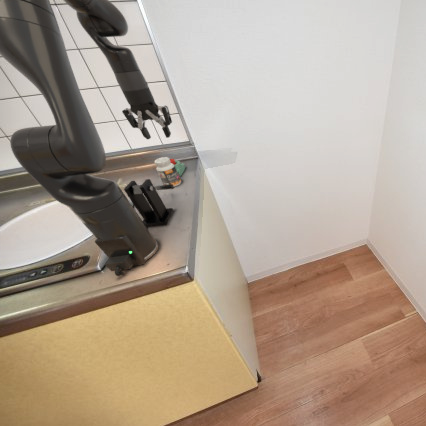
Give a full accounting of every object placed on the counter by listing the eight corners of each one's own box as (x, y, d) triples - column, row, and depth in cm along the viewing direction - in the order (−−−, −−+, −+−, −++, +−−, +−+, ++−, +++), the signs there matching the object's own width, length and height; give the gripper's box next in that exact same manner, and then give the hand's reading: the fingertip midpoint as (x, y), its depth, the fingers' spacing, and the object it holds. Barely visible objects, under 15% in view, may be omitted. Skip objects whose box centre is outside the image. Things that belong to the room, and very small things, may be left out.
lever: (158, 191, 80) (157, 184, 80) (174, 189, 80) (172, 182, 80) (128, 195, 65) (126, 186, 65) (147, 193, 66) (145, 184, 65)
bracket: (151, 213, 76) (129, 178, 68) (174, 210, 77) (155, 176, 68) (141, 228, 71) (117, 192, 62) (166, 225, 71) (145, 189, 63)
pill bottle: (175, 188, 87) (163, 164, 80) (161, 187, 88) (148, 163, 82) (185, 180, 91) (174, 156, 85) (172, 179, 92) (160, 155, 86)
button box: (180, 176, 94) (176, 167, 91) (164, 177, 93) (159, 168, 91) (185, 167, 99) (182, 159, 97) (170, 169, 99) (166, 160, 96)
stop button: (174, 166, 93) (172, 162, 92) (166, 167, 92) (164, 163, 91) (177, 162, 95) (175, 158, 94) (168, 163, 95) (166, 159, 94)
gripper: (104, 91, 73) (133, 143, 83) (153, 88, 74) (176, 139, 85) (116, 86, 78) (142, 135, 89) (162, 83, 80) (182, 132, 90)
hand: (158, 137), depth 87 cm, fingers open, 6 cm apart
